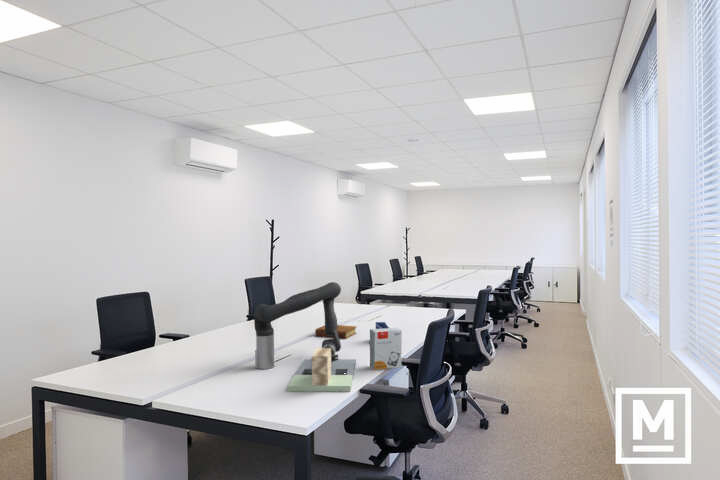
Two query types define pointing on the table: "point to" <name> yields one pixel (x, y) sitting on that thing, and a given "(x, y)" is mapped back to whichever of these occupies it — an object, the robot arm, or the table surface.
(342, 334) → the diary
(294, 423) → the table surface
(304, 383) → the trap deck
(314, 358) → the maple block
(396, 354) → the hard drive box
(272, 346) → the robot arm
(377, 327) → the phone stand
